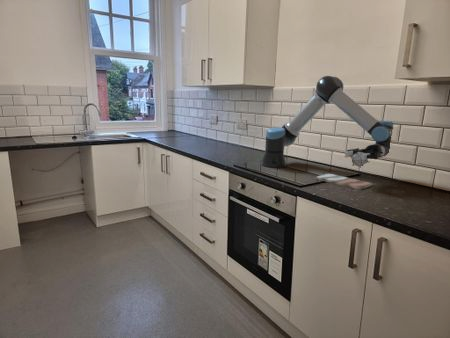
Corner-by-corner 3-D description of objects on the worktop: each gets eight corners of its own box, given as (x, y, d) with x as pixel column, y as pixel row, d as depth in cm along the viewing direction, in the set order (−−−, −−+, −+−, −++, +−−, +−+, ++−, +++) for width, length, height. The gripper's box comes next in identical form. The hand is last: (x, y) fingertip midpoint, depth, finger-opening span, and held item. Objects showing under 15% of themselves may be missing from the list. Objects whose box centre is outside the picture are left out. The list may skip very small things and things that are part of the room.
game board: (315, 178, 164) (315, 176, 163) (327, 175, 172) (328, 173, 172) (360, 189, 146) (360, 187, 145) (372, 185, 154) (372, 183, 154)
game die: (354, 173, 154) (353, 155, 158) (372, 169, 149) (370, 151, 153) (348, 166, 148) (346, 148, 152) (366, 163, 143) (364, 144, 147)
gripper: (393, 161, 155) (374, 167, 141) (354, 155, 171) (333, 160, 156) (396, 147, 154) (376, 151, 139) (356, 142, 169) (335, 145, 154)
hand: (354, 156), depth 147 cm, fingers closed on game die, 8 cm apart
